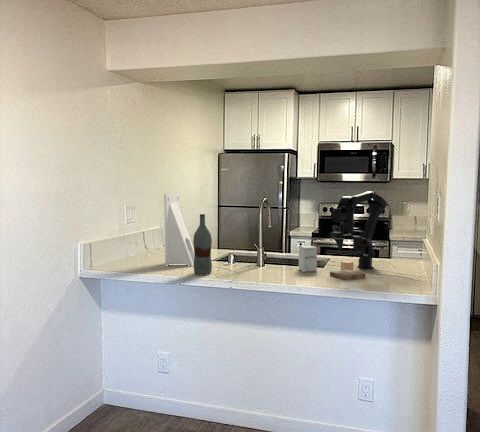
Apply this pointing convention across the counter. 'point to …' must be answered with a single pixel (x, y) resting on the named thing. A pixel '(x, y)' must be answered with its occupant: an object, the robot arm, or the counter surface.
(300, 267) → the supplement box
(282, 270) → the counter surface
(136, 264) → the counter surface
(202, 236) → the bottle
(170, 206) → the white bracket plate
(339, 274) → the walnut base
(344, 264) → the terracotta block
